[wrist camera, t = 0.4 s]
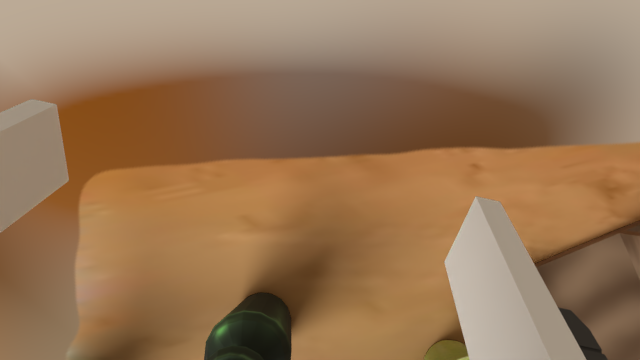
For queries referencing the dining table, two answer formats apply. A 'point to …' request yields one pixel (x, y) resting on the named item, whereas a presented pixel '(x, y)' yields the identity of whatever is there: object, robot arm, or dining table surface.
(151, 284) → the dining table surface
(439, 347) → the plant pot
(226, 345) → the potion bottle
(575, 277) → the rack
